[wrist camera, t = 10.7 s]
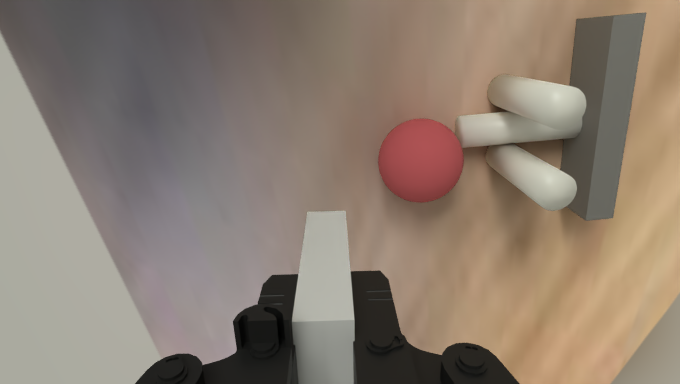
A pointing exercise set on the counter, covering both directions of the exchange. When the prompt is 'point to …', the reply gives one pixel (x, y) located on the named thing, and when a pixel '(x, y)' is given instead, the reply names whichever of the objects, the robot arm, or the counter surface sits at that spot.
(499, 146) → the pin
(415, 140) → the ball
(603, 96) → the back wall
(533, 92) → the pin
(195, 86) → the counter surface
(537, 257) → the counter surface
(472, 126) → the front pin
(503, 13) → the counter surface
